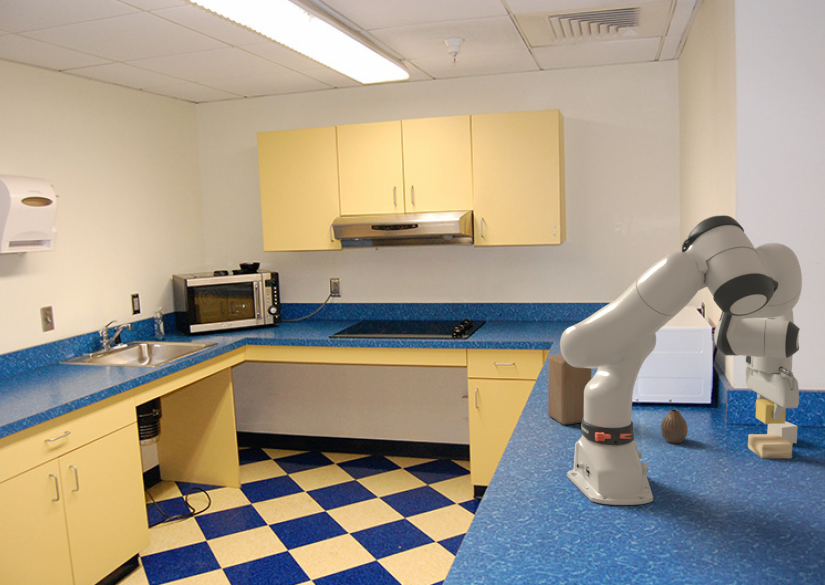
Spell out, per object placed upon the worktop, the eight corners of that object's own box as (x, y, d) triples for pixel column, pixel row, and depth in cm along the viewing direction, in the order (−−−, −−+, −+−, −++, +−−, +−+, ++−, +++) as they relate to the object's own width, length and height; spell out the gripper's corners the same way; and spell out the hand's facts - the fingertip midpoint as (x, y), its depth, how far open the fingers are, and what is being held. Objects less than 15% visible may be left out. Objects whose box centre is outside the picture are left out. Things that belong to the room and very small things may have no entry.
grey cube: (796, 443, 174) (797, 425, 174) (781, 445, 173) (782, 427, 173) (782, 437, 179) (782, 420, 179) (767, 439, 178) (767, 422, 178)
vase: (665, 434, 183) (666, 405, 182) (690, 439, 179) (691, 409, 178) (657, 441, 178) (657, 411, 177) (682, 447, 174) (683, 415, 173)
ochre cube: (784, 423, 165) (785, 404, 164) (765, 423, 165) (765, 405, 164) (774, 417, 170) (775, 399, 169) (755, 417, 170) (756, 399, 169)
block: (562, 426, 192) (563, 361, 190) (547, 416, 202) (547, 354, 200) (592, 422, 195) (592, 358, 193) (575, 412, 205) (575, 351, 202)
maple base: (791, 459, 164) (792, 444, 164) (761, 459, 165) (762, 444, 164) (776, 448, 172) (777, 434, 171) (747, 448, 172) (748, 434, 172)
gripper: (807, 372, 155) (804, 427, 157) (765, 354, 175) (763, 403, 177) (781, 373, 155) (778, 428, 157) (741, 354, 175) (739, 403, 177)
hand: (770, 414), depth 167 cm, fingers closed on ochre cube, 5 cm apart
